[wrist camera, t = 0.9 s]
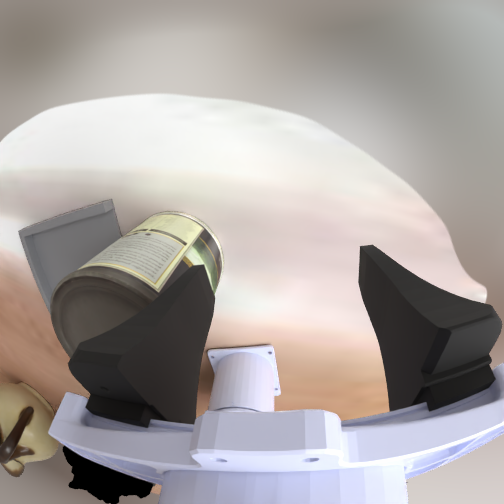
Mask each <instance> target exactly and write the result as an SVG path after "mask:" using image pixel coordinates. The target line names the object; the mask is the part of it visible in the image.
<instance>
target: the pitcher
mask: <svg viewBox="0 0 504 504" xmlns="http://www.w3.org/2000/svg"><path fill="white" fill-rule="evenodd" d="M53 419H54V411H53V409H52V407H51V406H50V404H49V403H48V402H47V401H46V400H45V399H44V398H43V397H42V396H41V395H40V394H39V393H38V392H37V391H36V390H34V389H33V388H32V387H30V386H29V385H27V384H25V383H23V382H20V383H18V384H14V383H0V463H1V465H2V466H3V467H4V468H5V470H6V471H7V472H8V473H9V474H11V475H12V476H14V477H19V476H20V475H21V474H22V473H23V471H24V464H25V463H27V462H32V461H40V460H45V459H48V458H50V457H52V456H53V455H54V454H55V453H56V451H57V448H58V444H59V441H58V440H56V439H55V438H53V437H52V436H51V435H49V433H48V431H49V429H50V426H51V424H52V422H53Z"/></svg>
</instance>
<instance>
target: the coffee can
mask: <svg viewBox="0 0 504 504" xmlns="http://www.w3.org/2000/svg"><path fill="white" fill-rule="evenodd" d="M201 264H204V265H205V268H206V271H207V274H208V277H209V281H210V284H211V287H212V290H213V293H214V294H215V292H216V289H217V286H218V283H219V281H220V279H221V276H222V273H223V267H224V259H223V253H222V249H221V246H220V244H219V242H218V240H217V238H216V236H215V235H214V234H213V232H212V231H211V230H210V229H209V228H208V227H207V226H206V225H205V224H204V223H203V222H202V221H200V220H198V219H197V218H195V217H193V216H191V215H188V214H185V213H181V212H174V211H167V212H162V213H158V214H155V215H153V216H151V217H149V218H148V219H146V220H145V221H144V222H143V223H142V224H140V225H139V226H137V227H136V228H134V229H133V230H132V231H130V232H129V233H127V234H126V235H124V236H123V237H121V238H120V239H118V240H117V241H116V242H114V243H113V244H112V245H110V246H109V247H107V248H106V249H105V250H103V251H102V252H101V253H99V254H98V255H96V256H95V257H94V258H92V259H91V260H90V261H88V262H87V263H86V264H84V265H83V266H82V267H81V268H79V269H78V270H76V271H74V272H72V273H70V274H68V275H67V276H65V277H64V278H63V279H62V280H61V281H60V282H59V283H58V284H57V286H56V287H55V289H54V291H53V293H52V296H51V301H50V314H51V320H52V324H53V327H54V330H55V333H56V335H57V338H58V340H59V341H60V343H61V345H62V347H63V348H64V350H65V351H66V353H67V354H68V356H69V357H70V358H71V357H72V355H73V354H74V352H75V350H76V348H77V346H78V345H79V343H80V342H83V341H86V340H88V339H91V338H93V337H96V336H98V335H100V334H103V333H105V332H107V331H109V330H111V329H113V328H114V327H116V326H118V325H120V324H121V323H123V322H125V321H126V320H128V319H129V318H131V317H133V316H134V315H136V314H137V313H139V312H140V311H141V310H143V309H144V308H145V307H147V306H148V305H149V304H150V303H152V302H153V301H154V300H155V299H156V298H157V297H158V296H160V295H161V294H162V293H163V292H164V291H165V290H166V289H167V288H168V287H170V286H171V285H172V284H173V283H174V282H175V281H176V280H177V279H178V278H179V277H180V276H181V275H182V274H183V273H184V272H185V271H186V270H187V269H189V268H190V267H191V266H192V265H201Z"/></svg>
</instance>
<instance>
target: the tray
mask: <svg viewBox="0 0 504 504" xmlns="http://www.w3.org/2000/svg"><path fill="white" fill-rule="evenodd" d="M18 232H19V235H20V239H21V242H22V245H23V248H24V251H25V254H26V257H27V260H28V263H29V265H30V268H31V271H32V273H33V276H34V278H35V281H36V283H37V286H38V288H39V290H40V293H41V295H42V297H43V300H44V302H45V304H46V306H47V308H48V310H49V312H50V301H51V296H52V293H53V291H54V289H55V287H56V286H57V284H58V283H59V282H60V281H61V280H62V279H63V278H64V277H65V276H67V275H68V274H70V273H72V272H74V271H76V270H78V269H79V268H81V267H82V266H83V265H84V264H86V263H87V262H88V261H90V260H91V259H92V258H94V257H95V256H96V255H98V254H99V253H101V252H102V251H103V250H105V249H106V248H107V247H109V246H110V245H112V244H113V243H114V242H116V241H117V240H118V239H120V238H121V237H122V235H121V232H120V228H119V225H118V221H117V217H116V214H115V210H114V206H113V202H112V199H111V200H107V201H104V202H100V203H97V204H93V205H90V206H87V207H84V208H80V209H77V210H74V211H71V212H68V213H65V214H62V215H59V216H56V217H53V218H50V219H47V220H45V221H42V222H39V223H36V224H34V225H31V226H28V227H26V228H24V229H22V230H20V231H18Z"/></svg>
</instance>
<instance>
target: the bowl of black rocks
mask: <svg viewBox="0 0 504 504" xmlns="http://www.w3.org/2000/svg"><path fill="white" fill-rule="evenodd" d="M63 452H64V455H65V457H66V460H67V462H68V463H69V464H70V465H71V466H73V467H72V473H73V474H74V478H73V481H72V482H70V483H69V487H70V488H73V489H83V490H87V491H88V492H89V493H91V494H92V495H93V496H95V497H97V499H99V500H103V501H104V502H105V503H111V504H117V503H119V497H120V496H121V495H123V496H128V495H137V496H138V497H140V498H143V497H146V496H147V495H149V494H150V492H151V490H152V487H153V486H155V485H156V484H155V483H152V482H149V481H145V480H142V479H139V478H136V477H133V476H130V475H127V474H124V473H122V472H119V471H116V470H114V469H111V468H108V467H106V466H103V465H101V464H99V463H96V462H94V461H91V460H89V459H87V458H84V457H82V456H80V455H79V454H77V453H76V452H74V451H72V450H71V449H69V448H68V447H66V446H65V445H64V447H63Z"/></svg>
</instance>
